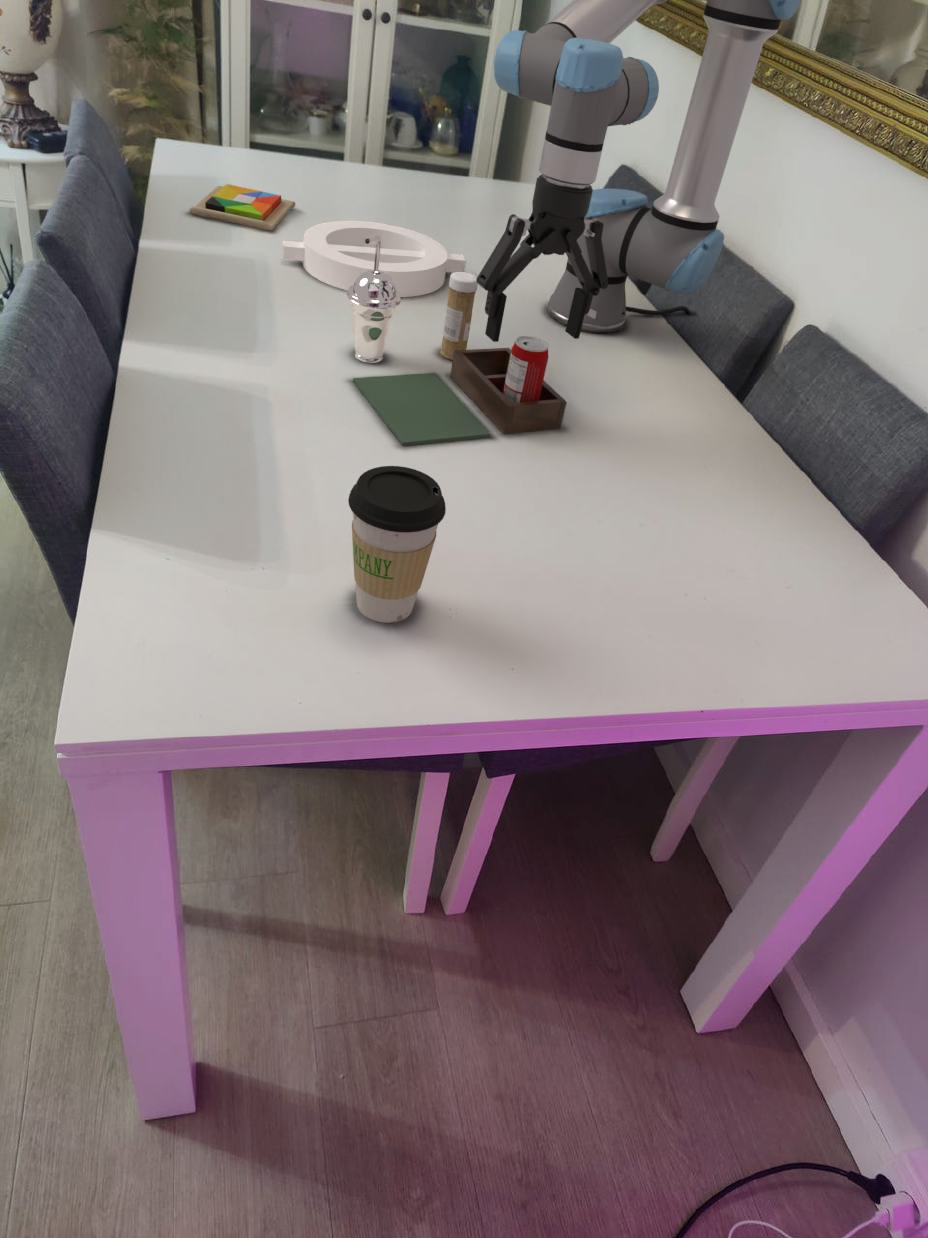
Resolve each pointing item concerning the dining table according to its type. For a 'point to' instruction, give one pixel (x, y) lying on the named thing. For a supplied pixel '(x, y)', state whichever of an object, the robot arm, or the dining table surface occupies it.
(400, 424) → the rubber mat
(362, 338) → the cup with straw
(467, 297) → the sprinkles bottle
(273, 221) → the wooden puzzle
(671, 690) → the dining table surface
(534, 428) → the can holder
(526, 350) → the soda can
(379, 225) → the ring with crossbar
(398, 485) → the coffee cup
